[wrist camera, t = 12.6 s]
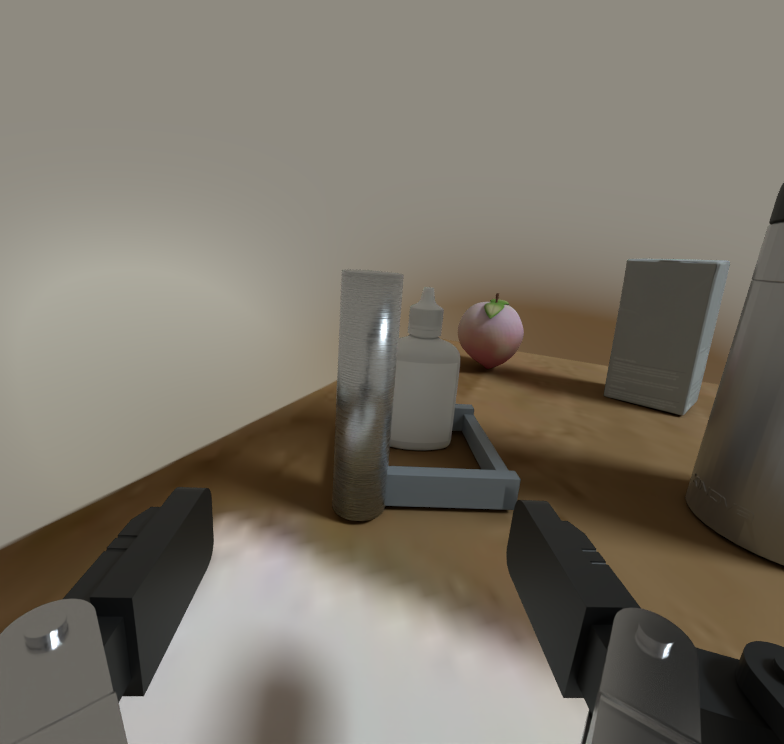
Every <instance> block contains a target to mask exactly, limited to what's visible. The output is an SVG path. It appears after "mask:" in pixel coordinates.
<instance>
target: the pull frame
mask: <svg viewBox="0 0 784 744" xmlns="http://www.w3.org/2000/svg"><path fill="white" fill-rule="evenodd" d="M403 276H404V275H403V274H399V273H391V272H382V271H370V270H342V282H341V306H340V307H341V308H340V330H339V332H340V333H339V356H338V379H337V403H336V427H335V451H334V475H333V500H332V507H333V510H334V511H335V513H336V514H338V515H339V516H341V517H343V518H345V519H348V520H353V521H366V520H371V519H374V518H376V517H378V516H379V515H381V514H382V512H383V511H384V509H385V506H413V507H444V508H475V509H506V510H514V507H515V504H516V502H517V497H518V492H519V486H520V481H521V479H520V478H519V476H518V475H517V473H516V472H515V471H509V470H508V469H507V467H506V466H505V464H504V462H503V461H502V459H501V458H500V456H499V454H498V453H497V451H496V450H495V448H494V447H493V445H492V443H491V442H490V440H489V439H488V437H487V435H486V434H485V432H484V431H483V429H482V428H481V426H480V424H479V423H478V421H477V420H476V418H475V416H474V408H473V407H472V405H465V404H455V411H454V419H453V427H452V431H462V432H463V434H464V436H465V438H466V440H467V442H468V444H469V446H470V448H471V450H472V452H473V454H474V456H475V458H476V460H477V462H478V464H479V466H480V468H481V470H480V469H454V468H429V467H403V466H388V462H389V449H390V437H391V425H392V412H393V400H394V388H395V375H396V363H397V351H398V339H399V326H400V314H401V302H402V289H403Z"/></svg>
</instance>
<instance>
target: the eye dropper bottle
mask: <svg viewBox="0 0 784 744" xmlns="http://www.w3.org/2000/svg"><path fill="white" fill-rule="evenodd" d="M443 311H444V310H443V308H441V307H440V306H438V305H437V304H436V302H435V297H434V288H428V287H427V288H426V287H425V288H424V290H423V293H422V297H421V300H420V301H419V302H418V303H417V304H414V305H412V306H411V307H410V315H409V326H408V333H409V334H410V335H408V336H407V337H402V338H399V339H398V351H397V363H396V375H395V388H394V400H393V412H392V425H391V437H390V447H394V448H400V449H407V450H436V449H442V448H445V447H447V446H448V445H449V444H450V441H451V434H452V427H453V419H454V411H455V403H456V394H457V386H458V378H459V369H460V354H459V351H458V350H457V349H456V347H455V346H453V345H452V344H451V343H449V342H447V341H444V340H442V339H440V338H439V337H438V336H441V330H442V329H441V328H442V321H443Z"/></svg>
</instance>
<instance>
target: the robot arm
mask: <svg viewBox="0 0 784 744" xmlns="http://www.w3.org/2000/svg"><path fill="white" fill-rule="evenodd" d="M770 224H771V225H769V226H768V228H767V231H766V234H765V238H764V241H763V244H762V247H761V251H760V254H759V257H758V260H757V264H756V267H755V270H754V273H753V277H752V281H751V284H750V287H749V290H748V294H747V297H746V300H745V303H744V307H743V310H742V313H741V316H740V320H739V324H738V326H737V330H736V333H735V336H734V339H733V342H732V346H731V349H730V352H729V356H728V359H727V362H726V365H725V368H724V372H723V375H722V378H721V381H720V385H719V388H718V391H717V394H716V398H715V401H714V404H713V407H712V411H711V414H710V417H709V420H708V424H707V427H706V430H705V433H704V437H703V440H702V443H701V446H700V449H699V453H698V456H697V459H696V463H695V466H694V469H693V473H692V476H691V479H690V483H689V486H688V489H687V493H686V497H685V498H686V501H687V505H688V506H689V507H690V509H691V510H692V512H693V513H694V514H695V515H696V516H697V517H698V518H699V519H700V520H701V521H702V522H704V523H705V524H706V525H708V526H709V527H710V528H712V529H713V530H714V531H716V532H717V533H719V534H720V535H722V536H724V537H725V538H727V539H729V540H730V541H732V542H734V543H735V544H737V545H739V546H741V547H743V548H745V549H747V550H749V551H751V552H753V553H755V554H757V555H759V556H762V557H764V558H766V559H769V560H771V561H774V562H776V563H779V564H781V565H784V183H783V185H782V186H781V188H780V191H779V193H778V196H777V199H776V202H775V205H774V209H773V212H772V215H771V218H770ZM213 542H214V538H213V517H212V497H211V492H210V490H209V489H208V488H186V487H177V488H176V489H175V490H174V491H173V492H172V493H171V495H170V496H169V497H168V498H167V500H166V501H165V502H164V503H163V505H162V506H161V507H150V508H149V509H147V510H146V511H144V512H142V513H141V514H139V515H138V516H136V517H135V518H133V519H131V521H130V522H129V523H128V524H127V525H126V526H125V527H124V529H123V530H122V531H121V532H120V533H119V534H118V538H115V539H114V540H113V541H112V543H111V544H110V545H109V546H108V547H107V550H106V551H104V552H103V553H102V554H101V555H100V556H99V558H98V559H97V560H96V561H95V562H94V563H93V565H92V566H91V567H90V568H89V569H88V570H87V572H86V573H85V574H84V575H83V576H82V577H81V578H80V580H79V581H78V582H77V583H76V584H75V585H74V587H73V588H72V589H71V590H70V591H69V592H68V594H67V595H66V596H65V597H64V598H63V599H62V600H58V601H54V602H50V603H47V604H44V605H42V606H39V607H37V608H35V609H33V610H31V611H29V612H27V613H25V614H24V615H22V616H21V617H19V618H18V619H16V620H15V621H14V622H12V623H11V624H10V625H9V626H8V627H7V628H6V629H5V630H4V631H3V632H2V633H1V634H0V744H128V743H127V739H126V734H125V730H124V725H123V721H122V717H121V712H120V708H119V701H120V699H121V697H122V696H144V695H145V693H146V691H147V689H148V687H149V685H150V683H151V681H152V679H153V677H154V675H155V673H156V671H157V669H158V667H159V664H160V662H161V660H162V658H163V656H164V654H165V652H166V650H167V648H168V646H169V644H170V642H171V640H172V638H173V636H174V634H175V632H176V630H177V628H178V626H179V624H180V622H181V620H182V618H183V616H184V614H185V612H186V610H187V608H188V606H189V604H190V602H191V600H192V598H193V596H194V594H195V592H196V590H197V588H198V586H199V584H200V582H201V580H202V578H203V576H204V574H205V572H206V570H207V568H208V566H209V563H210V560H211V556H212V551H213ZM507 566H508V570H509V574H510V576H511V578H512V581H513V583H514V585H515V588H516V590H517V592H518V595H519V597H520V599H521V601H522V604H523V606H524V608H525V611H526V613H527V615H528V618H529V620H530V622H531V624H532V627H533V629H534V631H535V634H536V636H537V638H538V641H539V643H540V645H541V647H542V650H543V652H544V654H545V657H546V659H547V661H548V664H549V666H550V668H551V670H552V673H553V675H554V677H555V680H556V682H557V684H558V687H559V689H560V691H561V694H562V696H563V698H584V699H585V701H586V703H587V706H588V708H589V711H588V715H587V718H586V722H585V727H584V731H583V736H582V740H581V744H784V647H782V646H779V645H776V644H773V643H769V642H762V641H754V642H750V643H748V644H747V645H746V646H745V648H744V650H743V653H742V655H741V658H740V660H738V659H734V658H731V657H727V656H724V655H720V654H717V653H713V652H709V651H706V650H702V649H699V648H696V647H695V646H694V644H693V643H692V641H691V640H690V639H689V637H688V636H687V635H686V634H685V633H684V632H683V631H682V630H681V629H680V628H678V627H677V626H676V625H675V624H673V623H672V622H671V621H669V620H667V619H666V618H664V617H662V616H660V615H658V614H656V613H654V612H651V611H648V610H645V609H641V608H640V606H639V605H638V604H637V602H636V601H635V600H634V598H633V597H632V596H631V594H630V593H629V592H628V590H627V589H626V588H625V586H624V585H623V584H622V582H621V581H620V580H619V579H618V577H617V576H616V575H615V573H614V572H613V571H612V569H611V568H610V567H609V565H606V561H605V560H604V559H603V557H602V556H601V555H600V553H599V552H596V548H595V547H594V545H593V544H592V543H591V541H590V540H589V539H588V538H587V536H586V535H585V534H584V533H583V532H582V531H580V530H579V529H578V528H576V527H575V526H574V525H572V524H571V523H570V522H568V521H561V520H560V518H559V517H558V515H557V514H556V512H555V511H554V510H553V508H552V507H551V505H550V504H549V503H548V502H547V501H532V500H518V501H517V502H516V504H515V507H514V511H513V517H512V523H511V528H510V534H509V539H508V545H507Z"/></svg>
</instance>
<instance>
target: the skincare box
mask: <svg viewBox="0 0 784 744" xmlns="http://www.w3.org/2000/svg"><path fill="white" fill-rule="evenodd" d="M729 266H730V262H729V261H721V260H719V261H718V260H686V259H684V260H683V259H628V260H627V264H626V271H625V277H624V283H623V289H622V294H621V301H620V307H619V311H618V317H617V323H616V328H615V334H614V340H613V346H612V351H611V356H610V362H609V367H608V373H607V379H606V385H605V391H604V396H606V397H610V398H614V399H618V400H622V401H626V402H630V403H634V404H638V405H642V406H646V407H650V408H654V409H658V410H662V411H666V412H671V413H675V414H679V415H684V414H685V413H686V412H687V411H688V410H689V409H690V407H691V406H692V405H694V403H695V402H696V401H697V399H698V395H699V391H700V387H701V383H702V379H703V375H704V371H705V366H706V362H707V358H708V354H709V350H710V346H711V341H712V337H713V333H714V329H715V325H716V320H717V316H718V312H719V308H720V304H721V299H722V295H723V291H724V287H725V283H726V279H727V274H728V270H729Z"/></svg>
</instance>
